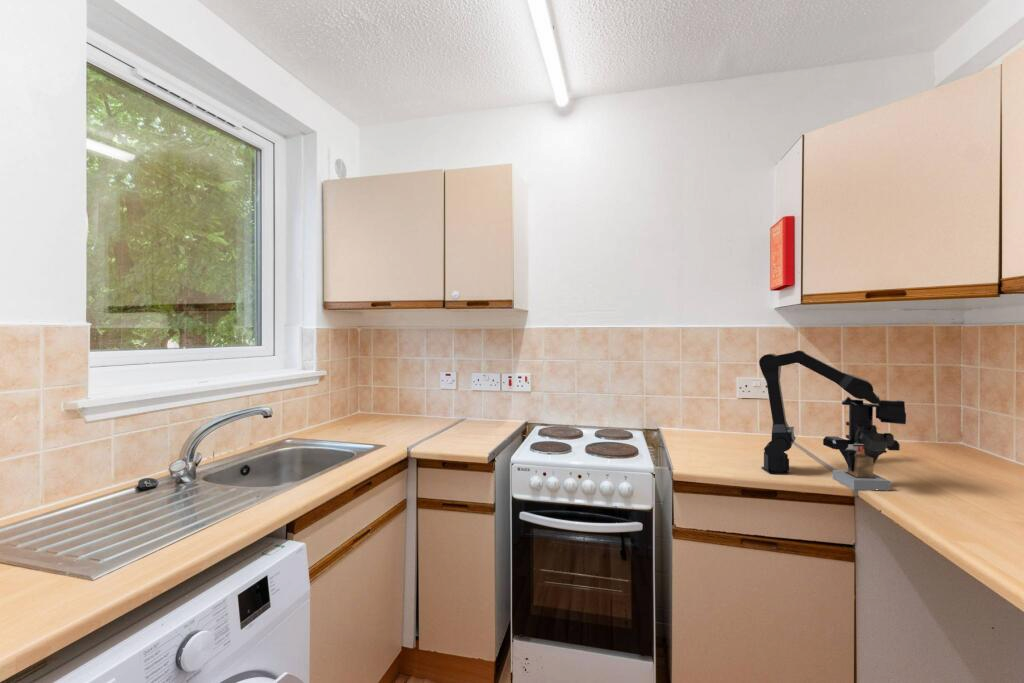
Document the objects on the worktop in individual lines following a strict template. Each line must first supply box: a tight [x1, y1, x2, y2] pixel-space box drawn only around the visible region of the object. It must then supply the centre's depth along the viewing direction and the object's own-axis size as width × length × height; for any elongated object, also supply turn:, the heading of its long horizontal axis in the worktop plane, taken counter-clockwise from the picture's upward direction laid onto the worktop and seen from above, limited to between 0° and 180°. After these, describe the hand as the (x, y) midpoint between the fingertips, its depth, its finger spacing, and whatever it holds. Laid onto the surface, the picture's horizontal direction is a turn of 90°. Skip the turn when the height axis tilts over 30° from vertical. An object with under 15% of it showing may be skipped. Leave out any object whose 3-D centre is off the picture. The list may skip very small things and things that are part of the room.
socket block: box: [832, 469, 891, 492], centre depth 136 cm, size 10×10×3 cm
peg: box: [847, 454, 874, 478], centre depth 136 cm, size 4×4×6 cm
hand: (860, 471), depth 136 cm, fingers closed on peg, 4 cm apart
